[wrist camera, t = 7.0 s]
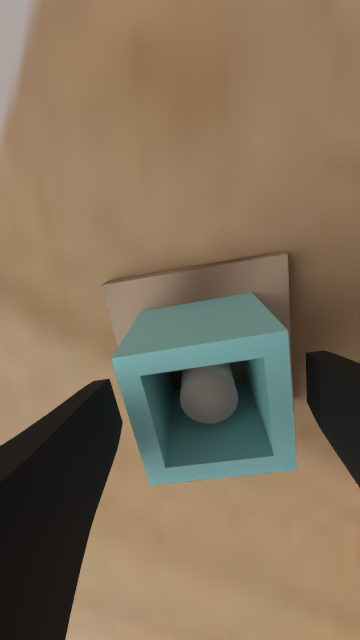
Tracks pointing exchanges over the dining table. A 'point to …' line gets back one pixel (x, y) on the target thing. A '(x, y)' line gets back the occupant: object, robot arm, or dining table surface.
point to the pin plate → (194, 286)
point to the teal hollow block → (197, 351)
